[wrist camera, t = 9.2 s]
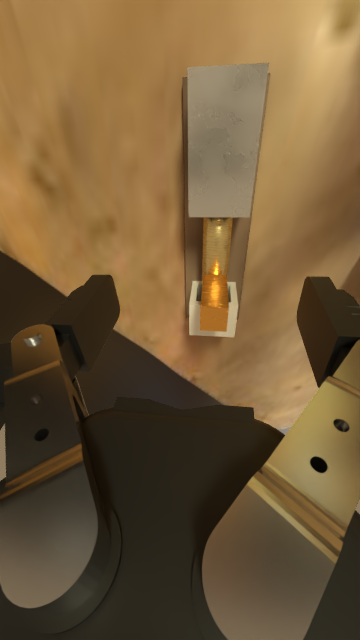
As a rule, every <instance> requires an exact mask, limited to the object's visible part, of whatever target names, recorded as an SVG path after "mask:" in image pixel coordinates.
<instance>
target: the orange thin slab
mask: <svg viewBox="0 0 360 640" xmlns="http://www.w3.org/2000/svg"><path fill="white" fill-rule="evenodd" d="M232 221H233V217H204V218H203V257H202V294H201V305H200V330H202V331H222V332H227V322H228V312H229V302H228V285H227V276H228V265H229V254H230V243H231V232H232Z"/></svg>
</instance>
